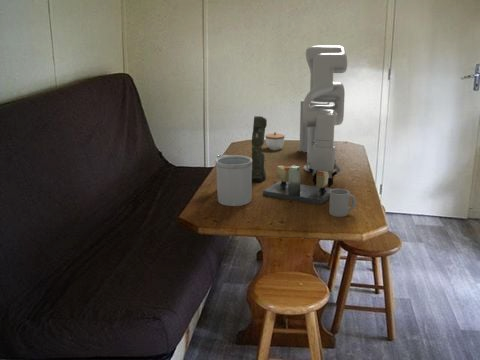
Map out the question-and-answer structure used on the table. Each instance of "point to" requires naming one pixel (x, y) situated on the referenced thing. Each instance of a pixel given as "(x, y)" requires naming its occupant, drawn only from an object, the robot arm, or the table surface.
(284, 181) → the knob
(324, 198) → the level plate
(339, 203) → the cup
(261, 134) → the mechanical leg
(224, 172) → the utensil holder
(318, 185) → the knob
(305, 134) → the white upright slab
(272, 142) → the lidded jar
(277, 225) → the table surface
